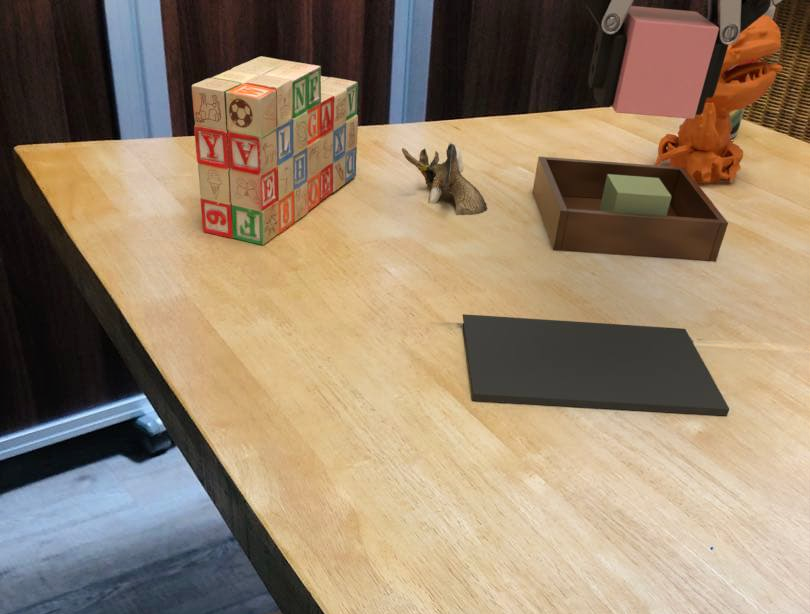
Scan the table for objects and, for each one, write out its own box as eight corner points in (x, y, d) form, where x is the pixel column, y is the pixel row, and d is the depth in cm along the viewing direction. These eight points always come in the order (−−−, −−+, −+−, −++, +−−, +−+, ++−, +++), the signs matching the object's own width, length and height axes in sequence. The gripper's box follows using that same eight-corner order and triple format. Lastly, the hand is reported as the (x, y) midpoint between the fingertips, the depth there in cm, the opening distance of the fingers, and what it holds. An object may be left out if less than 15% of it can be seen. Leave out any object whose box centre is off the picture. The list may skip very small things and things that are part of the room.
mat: (683, 335, 69) (685, 328, 69) (727, 416, 60) (730, 408, 60) (461, 320, 68) (462, 313, 68) (472, 401, 59) (473, 393, 59)
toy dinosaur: (742, 202, 95) (803, 15, 84) (643, 184, 97) (690, -1, 86) (745, 173, 103) (801, -1, 92) (654, 157, 106) (698, -15, 94)
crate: (673, 208, 92) (684, 167, 90) (714, 267, 81) (728, 222, 78) (531, 197, 91) (538, 156, 89) (551, 256, 80) (560, 210, 77)
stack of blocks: (303, 166, 93) (303, 37, 85) (357, 177, 92) (361, 47, 84) (201, 232, 78) (189, 82, 70) (264, 246, 76) (258, 95, 68)
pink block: (674, 98, 57) (697, 11, 54) (694, 119, 54) (719, 27, 50) (600, 92, 57) (618, 4, 54) (615, 113, 53) (635, 20, 50)
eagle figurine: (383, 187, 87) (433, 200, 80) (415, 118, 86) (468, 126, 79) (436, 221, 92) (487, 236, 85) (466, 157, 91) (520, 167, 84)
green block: (645, 230, 85) (659, 177, 82) (657, 250, 81) (671, 196, 78) (595, 226, 85) (607, 173, 82) (605, 246, 81) (617, 192, 78)
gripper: (585, -310, 40) (521, 110, 52) (937, -272, 41) (795, 133, 53) (561, -297, 46) (509, 80, 58) (871, -263, 47) (757, 101, 59)
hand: (647, 102), depth 55 cm, fingers closed on pink block, 5 cm apart
